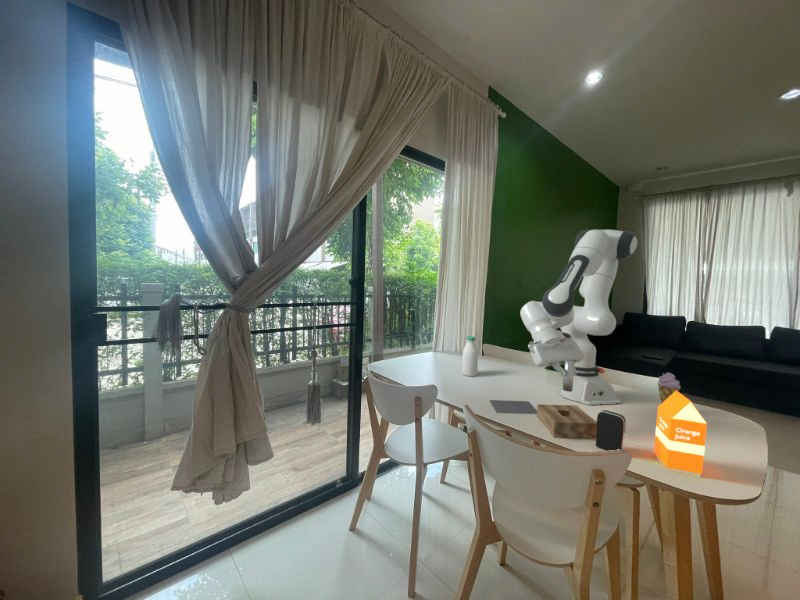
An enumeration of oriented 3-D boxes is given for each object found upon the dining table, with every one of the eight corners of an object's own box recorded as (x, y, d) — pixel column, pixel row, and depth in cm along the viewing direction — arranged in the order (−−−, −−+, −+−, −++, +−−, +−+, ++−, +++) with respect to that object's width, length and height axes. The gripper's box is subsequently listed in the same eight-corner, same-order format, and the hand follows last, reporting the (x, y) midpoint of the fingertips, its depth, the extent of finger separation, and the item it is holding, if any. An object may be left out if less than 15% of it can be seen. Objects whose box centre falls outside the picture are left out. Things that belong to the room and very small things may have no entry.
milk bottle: (478, 377, 161) (480, 338, 159) (463, 376, 161) (464, 338, 159) (475, 372, 168) (476, 335, 167) (460, 372, 169) (462, 335, 167)
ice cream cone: (674, 409, 125) (678, 372, 124) (680, 415, 120) (684, 376, 119) (653, 406, 128) (656, 369, 127) (658, 411, 123) (661, 374, 121)
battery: (624, 451, 94) (627, 414, 93) (621, 456, 92) (624, 418, 91) (598, 442, 100) (601, 407, 99) (594, 446, 97) (596, 410, 96)
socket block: (575, 418, 116) (576, 405, 115) (597, 438, 102) (598, 423, 101) (536, 417, 116) (537, 404, 116) (553, 437, 102) (554, 422, 102)
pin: (569, 388, 109) (571, 360, 108) (574, 391, 106) (576, 362, 105) (561, 388, 109) (562, 359, 109) (565, 391, 106) (567, 362, 106)
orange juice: (665, 470, 86) (672, 398, 84) (653, 453, 94) (658, 387, 92) (702, 477, 83) (710, 403, 81) (686, 459, 91) (692, 391, 89)
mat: (528, 402, 130) (528, 401, 130) (540, 415, 118) (540, 414, 118) (489, 401, 131) (489, 400, 131) (496, 413, 119) (496, 412, 119)
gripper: (531, 337, 109) (552, 373, 101) (574, 334, 117) (597, 367, 108) (521, 347, 113) (540, 382, 105) (563, 343, 121) (584, 376, 113)
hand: (570, 374), depth 107 cm, fingers closed on pin, 3 cm apart
